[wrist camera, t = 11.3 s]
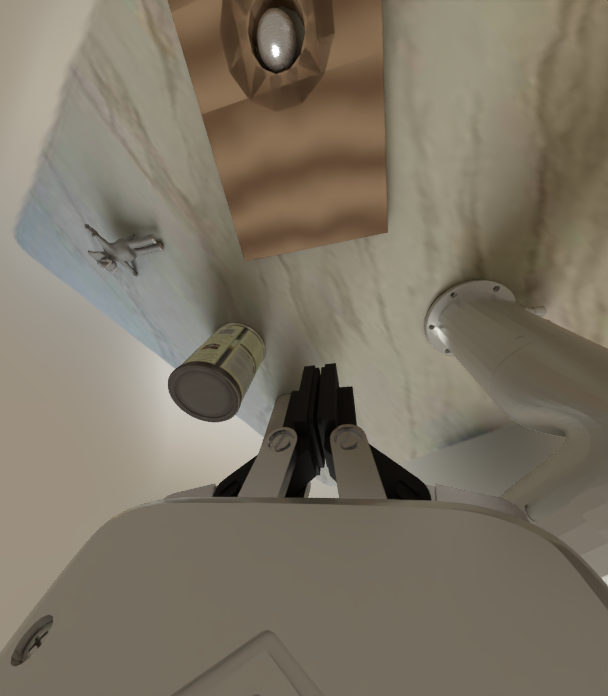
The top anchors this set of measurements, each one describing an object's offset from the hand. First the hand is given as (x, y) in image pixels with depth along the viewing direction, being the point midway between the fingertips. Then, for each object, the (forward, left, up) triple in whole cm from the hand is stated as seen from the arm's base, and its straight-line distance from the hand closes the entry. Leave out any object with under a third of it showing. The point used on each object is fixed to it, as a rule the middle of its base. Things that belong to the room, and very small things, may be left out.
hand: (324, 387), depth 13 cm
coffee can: (+19, +10, -27) cm, 35 cm away
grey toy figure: (+30, -10, -27) cm, 42 cm away
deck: (+2, -19, -27) cm, 33 cm away
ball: (+2, -24, -25) cm, 35 cm away
